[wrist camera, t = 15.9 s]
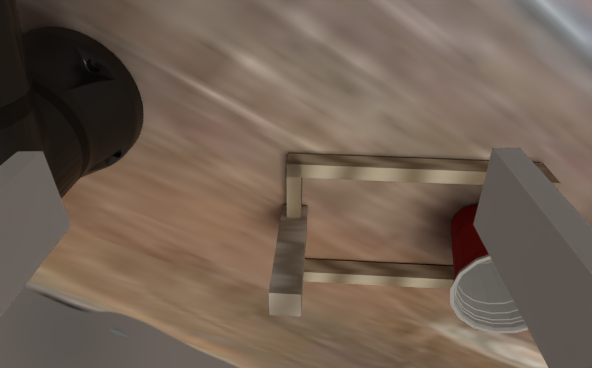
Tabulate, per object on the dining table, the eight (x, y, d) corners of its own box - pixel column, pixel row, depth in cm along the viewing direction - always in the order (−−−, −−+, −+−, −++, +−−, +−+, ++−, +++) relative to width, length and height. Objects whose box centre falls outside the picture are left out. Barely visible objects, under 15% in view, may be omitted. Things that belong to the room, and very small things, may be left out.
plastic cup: (462, 170, 47) (499, 240, 37) (542, 205, 49) (597, 281, 39) (409, 237, 53) (429, 314, 43) (483, 266, 55) (518, 347, 44)
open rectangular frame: (283, 266, 56) (271, 360, 45) (282, 153, 47) (266, 233, 35) (500, 278, 55) (547, 377, 43) (543, 163, 46) (617, 249, 34)
